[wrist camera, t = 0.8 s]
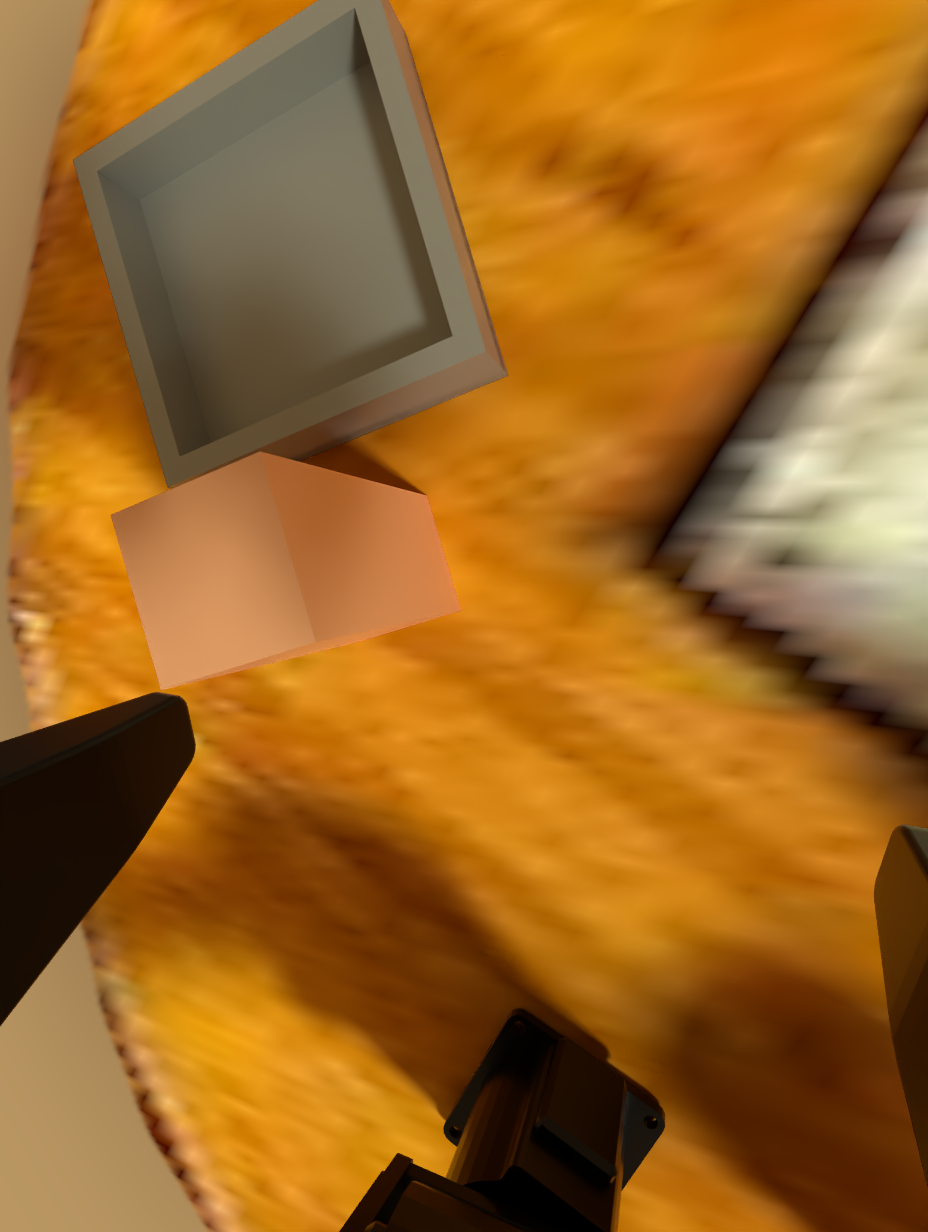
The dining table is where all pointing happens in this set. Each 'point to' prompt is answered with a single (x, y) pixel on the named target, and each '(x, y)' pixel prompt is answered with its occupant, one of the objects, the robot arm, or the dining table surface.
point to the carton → (277, 566)
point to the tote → (289, 248)
